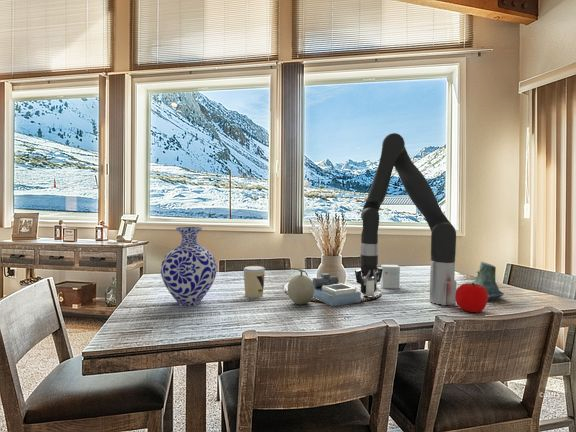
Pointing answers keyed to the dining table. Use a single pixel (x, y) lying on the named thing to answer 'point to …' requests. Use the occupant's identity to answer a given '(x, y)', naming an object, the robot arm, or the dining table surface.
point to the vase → (188, 269)
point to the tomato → (471, 297)
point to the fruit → (300, 288)
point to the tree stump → (488, 280)
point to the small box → (390, 276)
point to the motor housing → (334, 291)
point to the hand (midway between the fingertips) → (368, 292)
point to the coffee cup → (254, 281)
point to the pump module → (369, 287)
